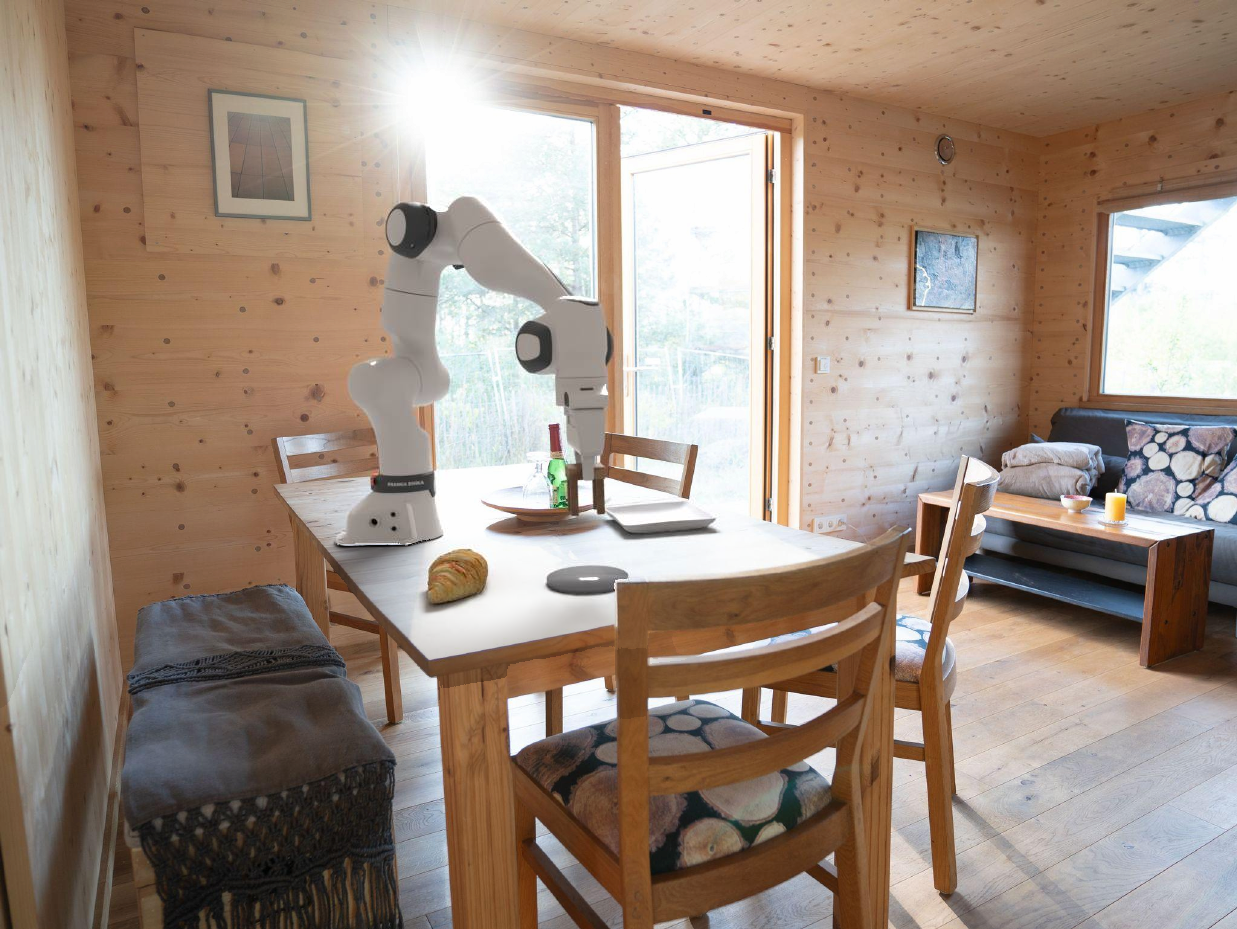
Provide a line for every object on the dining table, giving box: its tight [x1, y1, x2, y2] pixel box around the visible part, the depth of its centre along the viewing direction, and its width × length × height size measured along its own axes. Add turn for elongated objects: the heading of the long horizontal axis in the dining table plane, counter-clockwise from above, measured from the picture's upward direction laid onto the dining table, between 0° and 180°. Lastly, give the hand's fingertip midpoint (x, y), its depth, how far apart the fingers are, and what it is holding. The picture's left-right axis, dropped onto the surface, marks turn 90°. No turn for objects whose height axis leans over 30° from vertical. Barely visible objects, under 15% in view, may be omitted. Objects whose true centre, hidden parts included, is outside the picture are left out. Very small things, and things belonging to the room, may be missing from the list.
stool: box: [564, 461, 606, 517], centre depth 136 cm, size 6×6×8 cm
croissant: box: [427, 548, 489, 604], centre depth 136 cm, size 21×10×8 cm, turn 170°
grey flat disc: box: [546, 564, 629, 595], centre depth 139 cm, size 14×14×1 cm
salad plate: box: [605, 500, 717, 535], centre depth 183 cm, size 21×21×3 cm
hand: (584, 476), depth 136 cm, fingers closed on stool, 6 cm apart
